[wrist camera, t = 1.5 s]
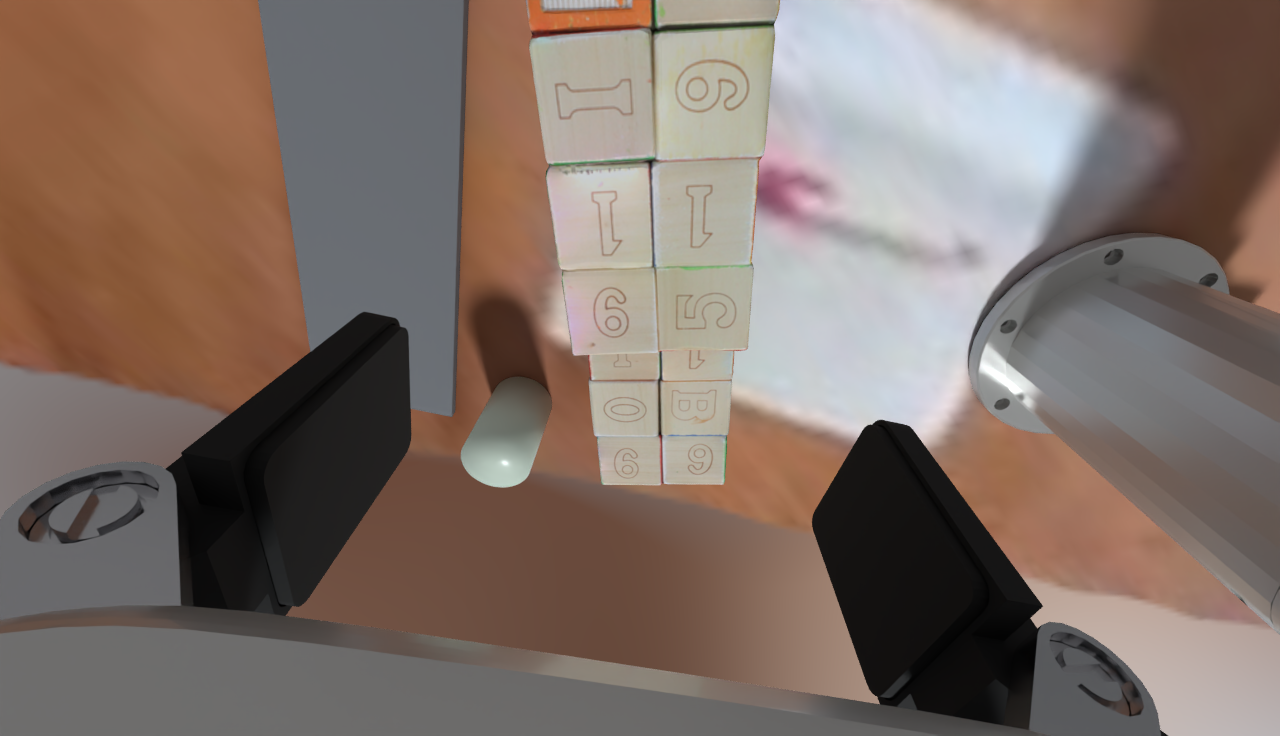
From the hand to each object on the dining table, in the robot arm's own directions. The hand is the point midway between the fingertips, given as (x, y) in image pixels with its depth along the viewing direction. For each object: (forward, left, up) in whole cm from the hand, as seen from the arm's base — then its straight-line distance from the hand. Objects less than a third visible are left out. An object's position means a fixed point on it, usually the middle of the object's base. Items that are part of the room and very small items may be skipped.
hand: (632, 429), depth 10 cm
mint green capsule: (+6, +14, -19) cm, 24 cm away
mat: (+15, +4, -19) cm, 24 cm away
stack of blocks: (0, 0, -19) cm, 19 cm away
